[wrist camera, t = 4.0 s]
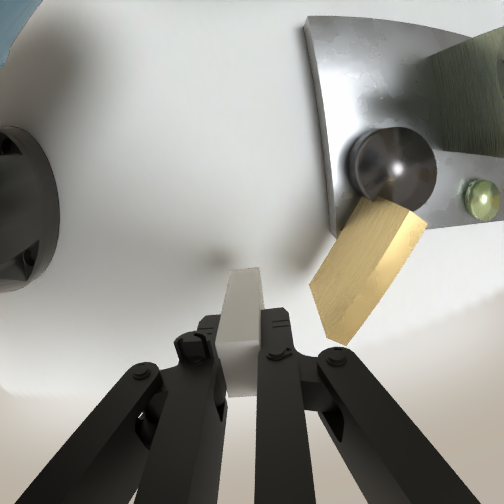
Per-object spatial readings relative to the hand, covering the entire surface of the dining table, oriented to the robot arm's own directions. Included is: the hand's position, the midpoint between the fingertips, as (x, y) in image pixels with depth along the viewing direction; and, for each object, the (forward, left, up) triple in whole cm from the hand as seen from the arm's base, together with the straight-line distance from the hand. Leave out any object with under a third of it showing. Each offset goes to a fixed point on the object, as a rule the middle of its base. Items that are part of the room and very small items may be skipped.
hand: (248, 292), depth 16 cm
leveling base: (+18, +9, -6) cm, 21 cm away
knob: (+7, +3, -4) cm, 9 cm away
